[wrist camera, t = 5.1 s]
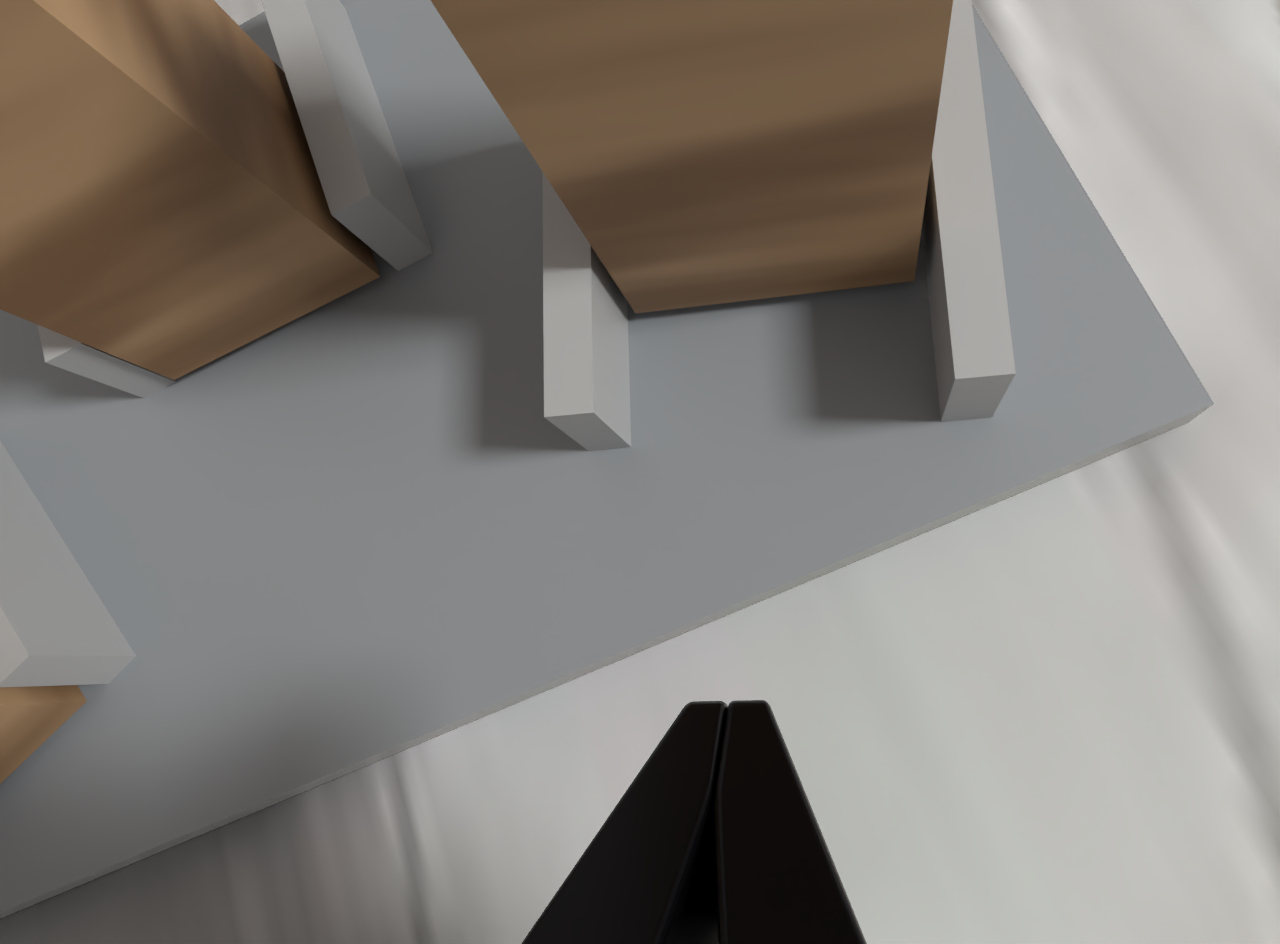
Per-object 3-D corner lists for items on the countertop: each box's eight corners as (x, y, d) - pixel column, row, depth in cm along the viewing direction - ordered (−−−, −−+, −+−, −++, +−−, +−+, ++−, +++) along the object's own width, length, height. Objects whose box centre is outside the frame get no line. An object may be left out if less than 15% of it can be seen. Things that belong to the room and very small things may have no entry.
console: (1187, 422, 19) (1281, 354, 15) (-159, 984, 24) (-380, 1055, 20) (800, -231, 25) (787, -419, 20) (-235, 337, 30) (-422, 282, 25)
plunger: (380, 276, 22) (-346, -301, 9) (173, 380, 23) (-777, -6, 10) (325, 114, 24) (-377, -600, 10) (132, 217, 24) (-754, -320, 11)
